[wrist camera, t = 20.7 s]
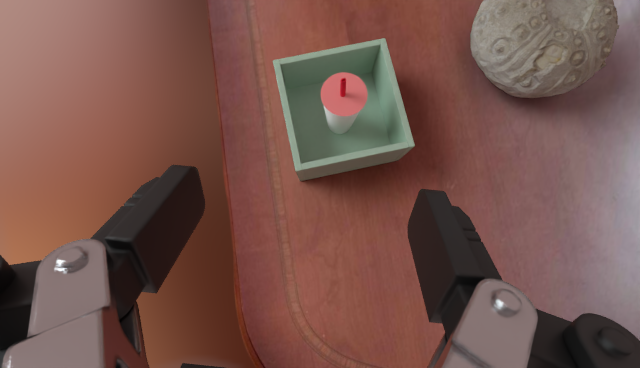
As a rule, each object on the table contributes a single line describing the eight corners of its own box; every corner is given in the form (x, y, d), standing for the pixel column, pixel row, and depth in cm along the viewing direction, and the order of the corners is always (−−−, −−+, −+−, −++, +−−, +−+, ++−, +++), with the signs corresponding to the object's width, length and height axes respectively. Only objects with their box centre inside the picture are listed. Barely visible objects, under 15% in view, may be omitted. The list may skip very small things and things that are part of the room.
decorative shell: (578, 112, 42) (658, 76, 32) (458, 107, 42) (500, 71, 32) (567, 5, 45) (637, -58, 35) (454, 1, 45) (492, -63, 35)
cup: (313, 119, 41) (310, 74, 29) (343, 98, 42) (351, 46, 30) (335, 147, 40) (341, 114, 29) (365, 126, 41) (382, 85, 29)
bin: (300, 181, 41) (295, 171, 33) (280, 88, 43) (272, 60, 36) (398, 160, 41) (415, 145, 34) (374, 69, 43) (385, 37, 36)
